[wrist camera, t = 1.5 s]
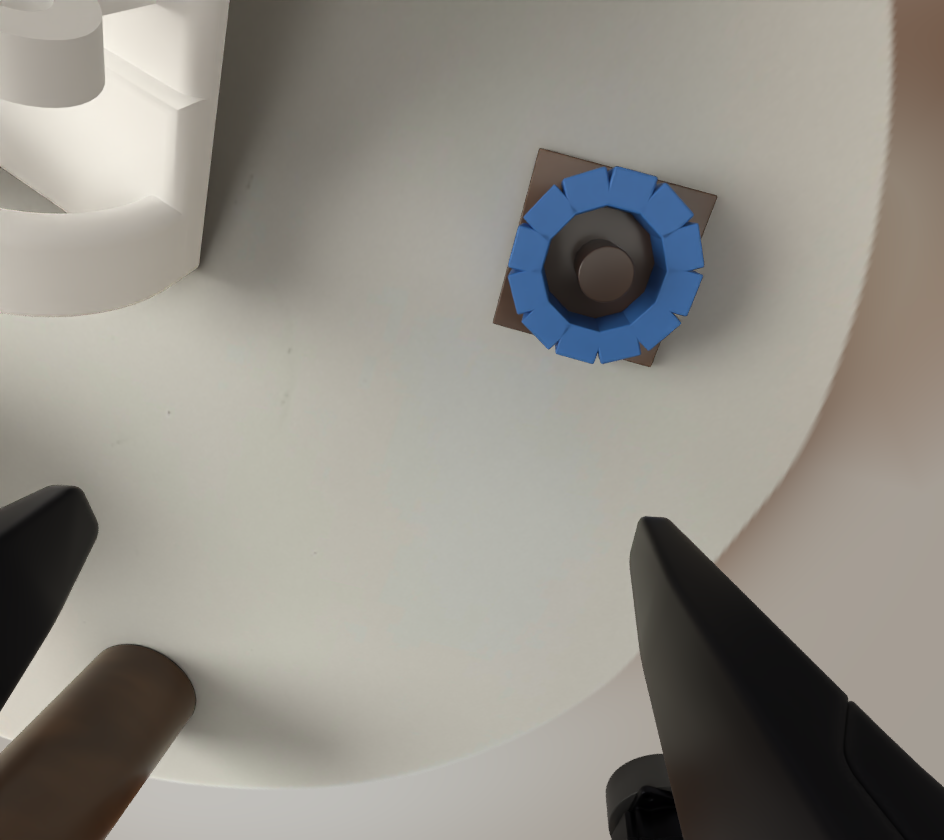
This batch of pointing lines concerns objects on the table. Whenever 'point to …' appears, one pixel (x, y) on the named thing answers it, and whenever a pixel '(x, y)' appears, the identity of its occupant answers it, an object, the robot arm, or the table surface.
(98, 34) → the tape dispenser
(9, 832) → the pedestal
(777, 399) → the table surface
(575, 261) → the peg stand
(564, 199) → the tape roll
